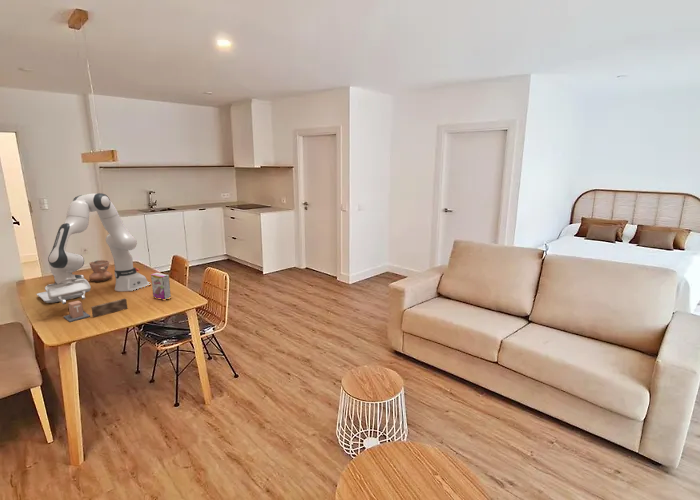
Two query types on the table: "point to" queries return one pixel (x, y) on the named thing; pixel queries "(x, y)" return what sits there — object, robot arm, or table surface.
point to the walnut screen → (109, 307)
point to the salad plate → (45, 297)
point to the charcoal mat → (77, 317)
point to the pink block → (75, 309)
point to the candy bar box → (160, 285)
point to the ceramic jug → (100, 271)
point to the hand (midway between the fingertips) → (74, 301)
